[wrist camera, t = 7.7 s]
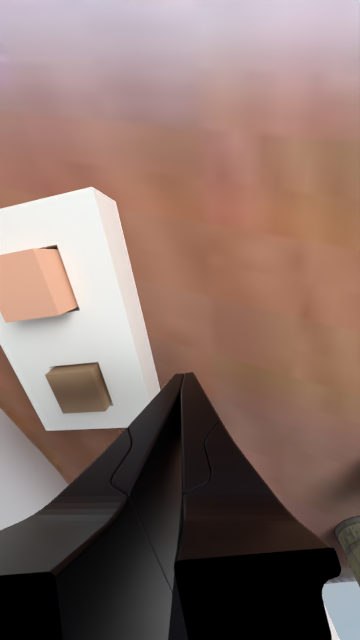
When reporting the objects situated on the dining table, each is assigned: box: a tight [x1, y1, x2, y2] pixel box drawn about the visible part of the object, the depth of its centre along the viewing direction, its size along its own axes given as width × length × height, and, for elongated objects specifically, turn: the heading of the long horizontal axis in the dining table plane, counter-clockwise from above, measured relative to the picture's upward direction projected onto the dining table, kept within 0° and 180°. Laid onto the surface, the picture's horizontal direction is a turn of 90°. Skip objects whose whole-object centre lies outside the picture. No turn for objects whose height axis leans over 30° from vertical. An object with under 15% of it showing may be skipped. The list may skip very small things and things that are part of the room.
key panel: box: [0, 187, 161, 431], centre depth 20 cm, size 23×14×4 cm, turn 9°
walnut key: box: [45, 362, 112, 414], centre depth 20 cm, size 5×5×4 cm
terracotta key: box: [0, 248, 79, 323], centre depth 16 cm, size 5×5×4 cm
